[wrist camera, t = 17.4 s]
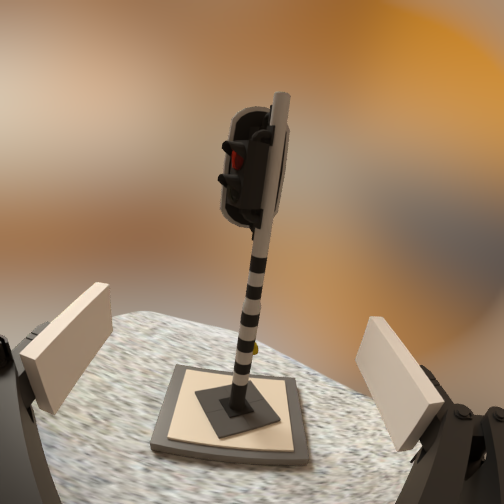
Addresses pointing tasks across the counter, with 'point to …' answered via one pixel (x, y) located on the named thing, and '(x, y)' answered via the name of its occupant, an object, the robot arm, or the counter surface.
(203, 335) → the counter surface
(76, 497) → the counter surface
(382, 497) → the counter surface
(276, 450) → the plate
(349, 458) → the counter surface
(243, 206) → the miniature traffic light
